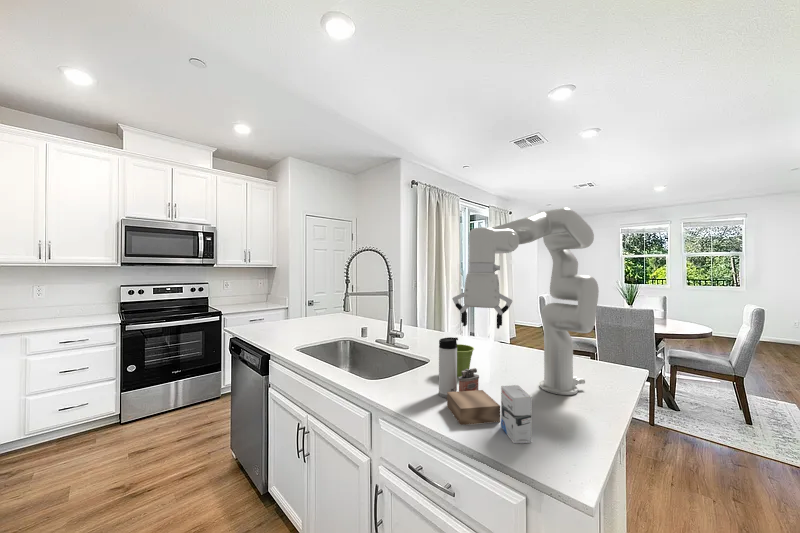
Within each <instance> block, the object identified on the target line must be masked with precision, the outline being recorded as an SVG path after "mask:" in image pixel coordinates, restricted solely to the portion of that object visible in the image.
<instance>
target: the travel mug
mask: <svg viewBox="0 0 800 533" xmlns="http://www.w3.org/2000/svg"><path fill="white" fill-rule="evenodd" d="M457 341H459V338H458V337H444V338H443V337H442V338H440V339H439V341H438V342H439V343H438V344H439V345H438V395H439V396H440V397H442V398H445V399H447V392H458V377H457V344H458V342H457Z"/></svg>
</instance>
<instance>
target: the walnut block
mask: <svg viewBox="0 0 800 533" xmlns="http://www.w3.org/2000/svg"><path fill="white" fill-rule="evenodd" d="M446 402H447V403H446V407H447V409H448V410H449V412H450V413H451V415H454V416H453V417H454V418H455V419H456V421H457V423H459V426H466V425H468V426H469V425H479V424H493V423H501V404H499V403H498V402H497V401H495V400H494V398H492V397H491V396H490V395H489V394H488V393H487V392H486V391H484V389H478V390H475V391H459V390H457V392H447V398H446Z"/></svg>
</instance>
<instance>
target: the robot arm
mask: <svg viewBox="0 0 800 533" xmlns="http://www.w3.org/2000/svg"><path fill="white" fill-rule="evenodd" d="M468 237H469V238H468V242H469V243H468V251H469V252H468V253H469V254H468V262H469V263H468V273H466V276H465V282H464V292H462V293H460V294H459V293H458V295H456V296H453V297H452V302H453V303H454V306H455V307H456V308H457V310H458V311H460V316H461V318H460V319H461V320H460V321H461V324H462V327H466V326H468V312H467V309H468V308H481V309H482V308H483V309H494V311H496V313H497V314H496V329H497V330H499V329H500V327H501V326H503V315H504V314H505V313H506V312H507V311H508V310H509V308H510V306H511V305H512V303H513V299H512V298H509V297H508V296H506V295H504V294H502V293H500V292H501V291H500V281H499V275H498V274H497V273H496V271H501V265H497V264H496V254H499V255H500V254H509V253H512V252H514V251H515V250H517V248H519V245H525V244H528V243H529V244H530V243H532V242H535V241H537V240H539V239H542V238H543V239H542V241H543V243H544V246H545V247H546V248H547V250H548V252H549V254H550V257H551V260H552V268H551V270H552V271H551V276H550V284H549V294H550V296H551V297H552V298H554V299H556V300H560V301H561V300H562V301H569V302H577V304H571V303H570V304H569V303H561V302H549V303H547V304H545V305H544V306H543V307H542V309H541V314H540V315H541V317H540V318H541V324H542V328H543V342H544V344H543V346H544V347H543V348H544V349H543V351H544V352H543V360H544V361H543V365H544V366H543V368H544V369H543V380H541V381H540V382H539V387H540V388H541V389H542V390H543V391H545V392H548V393H551V394H555V395H561V396H572V395H573V396H574V395H576V394H577V393H578V392H579V389H578V387H577V385H584V384H586V380H585V379H584V378H577V376H574V341H573V338H572V336H571V334H570V333H569V332H572V333H573V332H574V333H579V334H588V333H591V332H592V330H594V328H595V324H596V318H597V311H598V310H597V309H598V302H599V292H600V291H599V284H598V282H597V279H595V277H594V276H591V275H587V274H578V269H579V261H578V258H577V257H576V255H575V254H574V253H573V252H572V251H571V250H577V249H579V250H582V249H586V248H589V247H590V246H592V244H593V243H594V239H595V233H594V231H593V228H592V227H591V225H589V224H588V222H587V221H586V220H584V218H583V217H582V216H581V215H580V214H579V213H578V212H576V211H575V210H573V209H571V208H569V207H562V208H555V209H550V210H549V209H548V210H544V211H539V212H537V213H534V214H531V215H528V216H525V217H523V218H520V219H517V220H516V219H515V220H513V221H510V222H506V223H503V224H501V225H500V224H499V225H497V226H493V227H483V226H482V227H474V228H472V229H470V230H469V235H468ZM460 299H463V304H464V305H461V303H460V301H459V300H460ZM500 300H502V301H504V302H505V305H504V306H503V307H500V303H501V302H500Z"/></svg>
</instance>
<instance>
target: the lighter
mask: <svg viewBox="0 0 800 533" xmlns="http://www.w3.org/2000/svg"><path fill="white" fill-rule="evenodd" d="M476 373H478V369H477V368H475V367H474V368H469V369H465V370H464V371H462V376H460V377H457V381H458V391H475V390H479V379H480V375H479V374H476Z"/></svg>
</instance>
